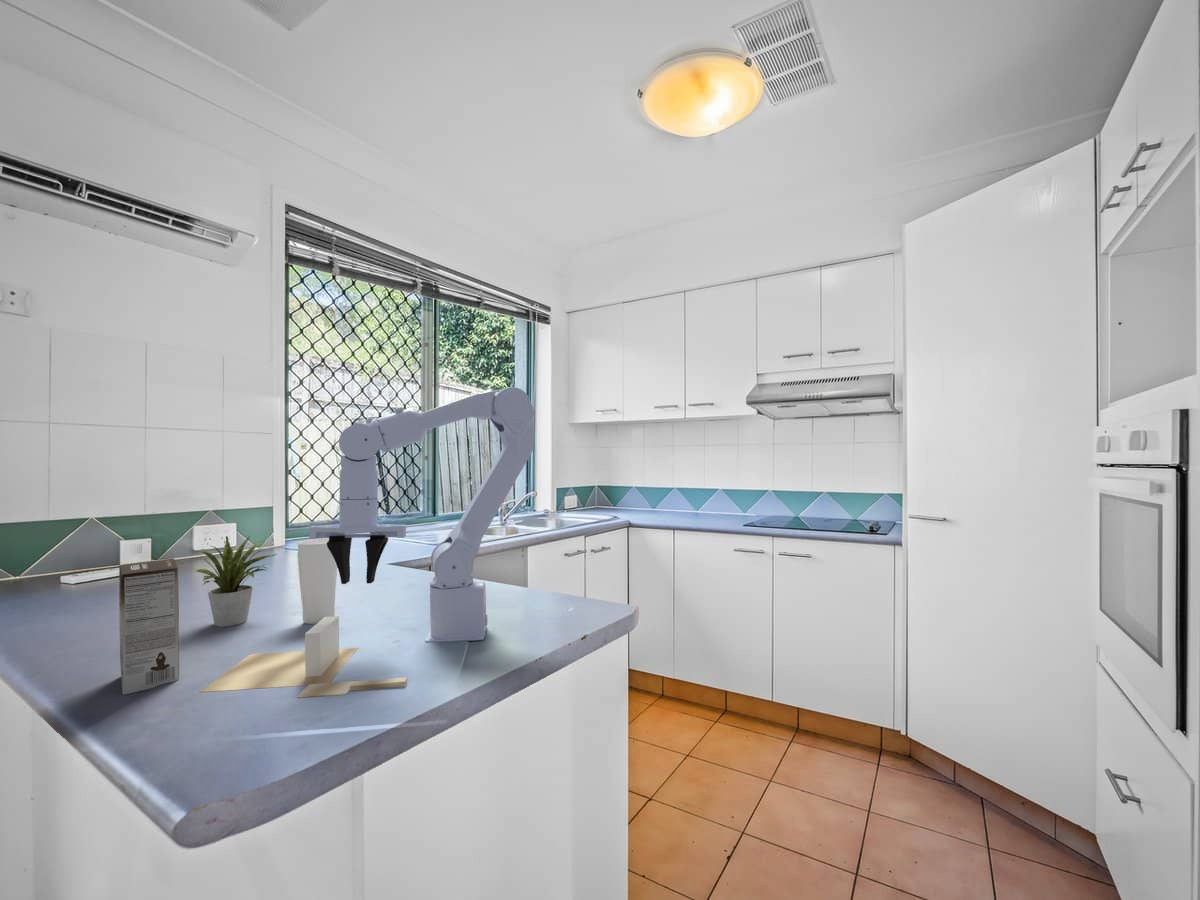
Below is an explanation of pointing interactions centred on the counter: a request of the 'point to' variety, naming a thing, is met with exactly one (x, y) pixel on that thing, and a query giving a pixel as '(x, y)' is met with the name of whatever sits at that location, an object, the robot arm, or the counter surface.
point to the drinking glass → (316, 580)
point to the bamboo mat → (275, 671)
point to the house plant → (231, 584)
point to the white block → (321, 646)
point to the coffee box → (149, 624)
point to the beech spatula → (350, 687)
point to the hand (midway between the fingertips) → (358, 582)
